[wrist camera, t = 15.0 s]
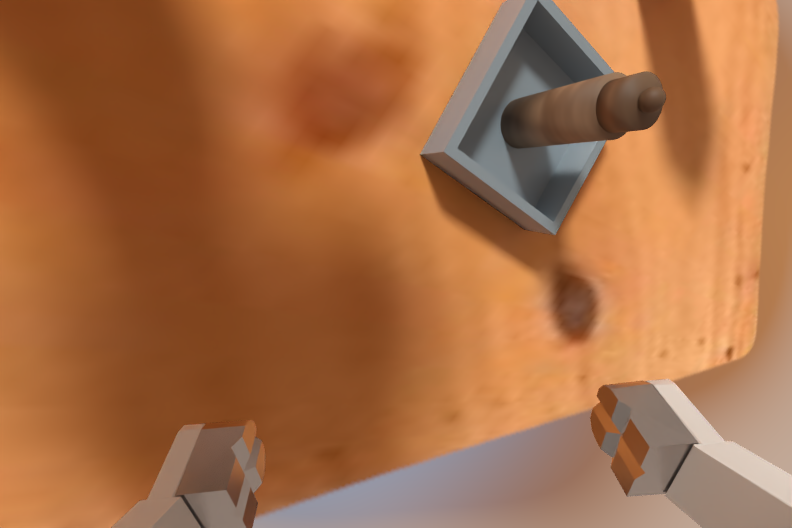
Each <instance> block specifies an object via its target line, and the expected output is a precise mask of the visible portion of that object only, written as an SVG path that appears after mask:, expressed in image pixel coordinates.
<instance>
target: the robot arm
mask: <svg viewBox="0 0 792 528" xmlns="http://www.w3.org/2000/svg"><path fill="white" fill-rule="evenodd" d="M597 397H598V399H599V401H600V403H598V404H597V405H596V406H595V407H594V408H593V409H592V413H591V418H590V419H591V427H592V431H593V434H594V437H595V439H596V441H597V443H598V445H599V447H600V449H601V450H603V451H604V452H605V453H607V454H608V455H610V456H611V457H612V462H611V469H612V471H613V472H614V474H615V476H616V478H617V480H618V481H619V483H620V485H621V487H622V489H623V490H624V492H625V494H626V496H640V495H654V494H666V495H665V496H666V497H667V498H668V499H669V500H670V501H672V502H673V503H674V504H675V505H676V506H677V507H679V508H680V509H681V510H682V511H683V512H685V513H686V514H687V515H688V516H689V517H690V518H692V519H693V520H694V521H695V522H696V523H697V524H698V525H700V526H701V527H702V528H792V475H790V474H788V473H787V472H785V471H783V470H781V469H780V468H778V467H776V466H774V465H773V464H771V463H769V462H768V461H766V460H764V459H762V458H760V457H759V456H757V455H755V454H753V453H752V452H750V451H748V450H747V449H745V448H743V447H741V446H740V445H738V444H736V443H734V442H732V441H724V440H723V439H722V438H721V436H720V435H719V434H718V433H717V432H716V431H715V429H714V428H713V427H712V426H711V425H710V424H709V422H708V421H707V420H706V419H705V418H704V417H703V416H702V414H701V413H700V412H699V411H698V410H697V408H696V407H695V406H694V405H693V404H692V403H691V402H690V400H689V399H688V398H687V397H686V396H685V395H684V393H683V392H682V391H681V390H680V389H679V388H678V386H677V385H676V384H675V383H674V382H672V381H671V380H669V379H660V380H651V381H636V382H627V383H618V384H609V385H603V386H602V387H600V388H599V390H598V393H597ZM256 431H257V427H256V425H255V423H254V421H253V420H244V421H230V422H216V423H203V424H191V425H184V426H183V427H182V428H181V429H180V430H179V431H178V433H177V435H176V437H175V439H174V441H173V444H172V446H171V448H170V450H169V452H168V455H167V457H166V459H165V461H164V463H163V465H162V468H161V470H160V472H159V474H158V476H157V479H156V481H155V483H154V485H153V487H152V489H151V492H150V494H149V496H148V498H147V500H140V501H139V502H138V503H137V504H135V505H134V506H133V507H132V508H131V509H130V510H129V511H128V512H127V513H126V514H125V515H124V516H123V517H122V518H121V519H120V520H119V521H118V522H116V523H115V524H114V525H113V526H112V527H111V528H252V526H253V522H254V518H255V514H256V509H257V505H258V502H257V500H256V498H255V496H254V494H253V493H254V492H255V491H256V490H257V489H258V487H259V486H260V485H261V484H262V482H263V477H264V472H265V459H266V455H265V449H264V445H263V442H262V440H260V439H258V438H257V437H255V435H256Z"/></svg>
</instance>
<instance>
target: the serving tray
mask: <svg viewBox="0 0 792 528" xmlns="http://www.w3.org/2000/svg"><path fill="white" fill-rule="evenodd" d="M610 73H614V71H613V70H612V69H611V68H610V67H609V66H608V64H607V63H606V62H605V61H604V60H603V59H602V58H601V56H600V55H599V54H598V53H597V52H596V51H595V49H594V48H593V47H592V46H591V45H590V44H589V43H588V41H587V40H586V39H585V38H584V37H583V36H582V34H581V33H580V32H579V31H578V30H577V29H576V28H575V26H574V25H573V24H572V23H571V22H570V21H569V19H568V18H567V17H566V16H565V15H564V14H563V13H562V11H561V10H560V9H559V8H558V7H557V6H556V4H555V3H554V2H553V1H552V0H507V1H505V2H504V3H502V5H501V7H500V9H499V10H498V12H497V14H496V16H495V18H494V20H493V21H492V23H491V25H490V27H489V29H488V31H487V32H486V34H485V36H484V38H483V40H482V42H481V43H480V45H479V47H478V49H477V51H476V53H475V55H474V56H473V58H472V60H471V62H470V64H469V66H468V67H467V69H466V71H465V73H464V75H463V77H462V78H461V80H460V82H459V84H458V86H457V88H456V89H455V91H454V93H453V95H452V97H451V99H450V101H449V102H448V104H447V106H446V108H445V110H444V112H443V113H442V115H441V117H440V119H439V121H438V123H437V124H436V126H435V128H434V130H433V132H432V134H431V135H430V137H429V139H428V141H427V143H426V145H425V146H424V148H423V150H422V152H421V154H420V155H422V156H423V157H424V158H426V159H427V160H429V161H430V162H431V163H433V164H434V165H436V166H437V167H438V168H440V169H441V170H442V171H444V172H445V173H447V174H448V175H449V176H451V177H452V178H454V179H455V180H456V181H458V182H459V183H461V184H462V185H463V186H465V187H466V188H467V189H469V190H470V191H472V192H473V193H474V194H476V195H477V196H479V197H480V198H481V199H483V200H484V201H486V202H487V203H488V204H490V205H491V206H492V207H494V208H495V209H497V210H498V211H499V212H501V213H502V214H504V215H505V216H506V217H508V218H509V219H510V220H512V221H513V222H515V223H516V224H517V225H519V226H520V227H522V228H523V229H524V230H529V231H535V232H540V233H546V234H551V235H556V233H557V231H558V229H559V227H560V225H561V223H562V222H563V220H564V218H565V216H566V214H567V212H568V211H569V209H570V207H571V205H572V203H573V201H574V199H575V198H576V196H577V194H578V192H579V190H580V188H581V186H582V185H583V183H584V181H585V179H586V177H587V175H588V174H589V172H590V170H591V168H592V166H593V164H594V162H595V161H596V159H597V157H598V155H599V153H600V151H601V150H602V148H603V146H604V144H605V142H606V140H604V141H594V142H583V143H573V144H563V145H552V146H542V147H531V148H521V149H518V148H514V147H511V146H510V145H509V144H508V143H507V142H506V141H505V139H504V138H503V135H502V132H501V126H500V123H501V116H502V113H503V111H504V109H505V107H506V106H507V105H508V104H509V103H510V102H511V101H513V100H515V99H518V98H521V97H525V96H529V95H532V94H536V93H540V92H544V91H547V90H551V89H555V88H558V87H562V86H566V85H569V84H573V83H577V82H580V81H584V80H588V79H591V78H595V77H599V76H602V75H606V74H610Z"/></svg>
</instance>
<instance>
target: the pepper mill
mask: <svg viewBox="0 0 792 528" xmlns="http://www.w3.org/2000/svg"><path fill="white" fill-rule="evenodd" d="M665 100H666V94H665V92H664V90H663V88H662V85H661V82H660V80H659V79H658V77H657V76H656V75H655V74H653V73H651V72H641V73H637V74H633V75H629V76H626V75H624V74H622V73H619V72H614V73H610V74H606V75H602V76H599V77H595V78H591V79H588V80H584V81H580V82H577V83H573V84H569V85H566V86H562V87H558V88H555V89H551V90H547V91H544V92H540V93H536V94H532V95H529V96H525V97H521V98H518V99H515V100H513V101H511V102H510V103H509V104H508V105H507V106H506V107H505V109H504V111H503V113H502V116H501V123H500V126H501V132H502V135H503V138H504V139H505V141H506V142H507V143H508V144H509V145H510V146H511V147H514V148H518V149H521V148H531V147H542V146H552V145H563V144H573V143H583V142H594V141H604V140H614V139H618V138H620V137H622V136H623V135H624V134H625V133H626V132H628V131H637V130H645V129H648V128H649V127H651V126H652V125H653V124H654V123H655V122H656V121H657V119H658V117H659V115H660V113H661V110H662V106H663V105H664V103H665Z"/></svg>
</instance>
